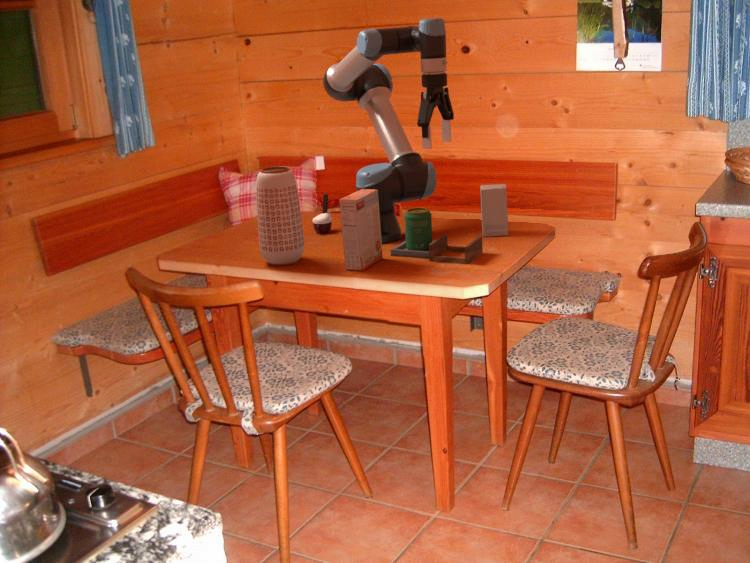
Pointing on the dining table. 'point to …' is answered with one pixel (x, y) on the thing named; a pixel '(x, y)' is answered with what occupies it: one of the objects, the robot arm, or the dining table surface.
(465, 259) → the caddy
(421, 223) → the beverage can
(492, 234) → the skincare box
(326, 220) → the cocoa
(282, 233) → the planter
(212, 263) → the dining table surface
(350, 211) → the cracker box
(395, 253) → the tray
